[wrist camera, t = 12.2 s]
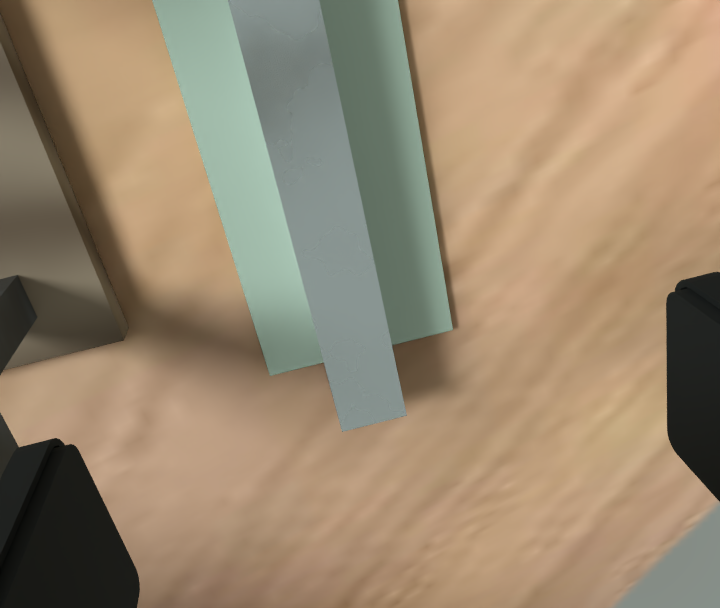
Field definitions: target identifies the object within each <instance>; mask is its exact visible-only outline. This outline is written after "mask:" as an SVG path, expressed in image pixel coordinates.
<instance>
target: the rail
mask: <svg viewBox="0 0 720 608" xmlns="http://www.w3.org/2000/svg"><path fill="white" fill-rule="evenodd" d="M228 3H229V7H230V10H231V14H232V18H233V22H234V25H235V29H236V33H237V37H238V41H239V44H240V48H241V52H242V56H243V59H244V63H245V67H246V71H247V75H248V78H249V82H250V86H251V90H252V93H253V97H254V101H255V105H256V108H257V112H258V116H259V120H260V124H261V127H262V131H263V135H264V139H265V142H266V146H267V150H268V154H269V158H270V161H271V165H272V169H273V173H274V176H275V180H276V184H277V188H278V192H279V195H280V199H281V203H282V207H283V210H284V214H285V218H286V222H287V225H288V229H289V233H290V237H291V241H292V244H293V248H294V252H295V256H296V259H297V263H298V267H299V271H300V275H301V278H302V282H303V286H304V290H305V293H306V297H307V301H308V305H309V308H310V312H311V316H312V320H313V324H314V327H315V331H316V335H317V339H318V342H319V346H320V350H321V354H322V358H323V361H324V365H325V369H326V373H327V376H328V380H329V384H330V388H331V392H332V395H333V399H334V403H335V407H336V410H337V414H338V418H339V422H340V425H341V429H342V432H343V431H347V430H351V429H355V428H359V427H363V426H367V425H371V424H375V423H379V422H383V421H387V420H391V419H395V418H399V417H403V416H407V415H406V410H405V405H404V400H403V396H402V391H401V386H400V381H399V377H398V372H397V367H396V362H395V358H394V353H393V348H392V343H391V339H390V334H389V329H388V324H387V320H386V315H385V310H384V305H383V301H382V296H381V291H380V286H379V282H378V277H377V272H376V267H375V263H374V258H373V253H372V248H371V244H370V239H369V234H368V229H367V225H366V220H365V215H364V210H363V206H362V201H361V196H360V191H359V187H358V182H357V177H356V172H355V168H354V163H353V158H352V153H351V149H350V144H349V139H348V134H347V130H346V125H345V120H344V115H343V111H342V106H341V101H340V96H339V92H338V87H337V82H336V77H335V73H334V68H333V63H332V58H331V54H330V49H329V44H328V39H327V35H326V30H325V25H324V20H323V16H322V11H321V6H320V1H319V0H228Z"/></svg>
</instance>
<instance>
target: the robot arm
mask: <svg viewBox="0 0 720 608" xmlns="http://www.w3.org/2000/svg"><path fill="white" fill-rule="evenodd" d="M666 318H667V431H668V437H669V440H670V443H671V445H672V447H673V449H674V451H675V452H676V453H677V455H678V456H679V457H680V458H681V459H682V460H683V461H684V462H685V464H686V465H687V466H688V467H689V468H690V469H691V470H692V471H693V472H694V474H695V475H696V476H697V477H698V478H699V479H700V480H701V481H702V483H703V484H704V485H705V486H706V487H707V488H708V489H709V490H710V491H711V493H712V494H713V495H714V496H715V497H716V498H717V499H718V500H719V501H720V273H719V272H713V273H709V274H705V275H701V276H697V277H693V278H689V279H685V280H681V281H680V282H679V283H678V284H677V286H676V288H675V292H671V293H670V294H669V295H668V297H667V303H666ZM139 591H140V587H139V577H138V573H137V570H136V568H135V566H134V564H133V562H132V559H131V557H130V555H129V553H128V551H127V549H126V547H125V545H124V543H123V541H122V539H121V537H120V535H119V533H118V531H117V529H116V526H115V524H114V522H113V520H112V518H111V516H110V514H109V512H108V510H107V508H106V506H105V504H104V502H103V500H102V498H101V496H100V493H99V491H98V489H97V487H96V485H95V483H94V481H93V479H92V477H91V475H90V473H89V471H88V469H87V467H86V465H85V463H84V460H83V458H82V456H81V454H80V452H79V451H78V449H77V447H76V446H74V445H72V444H69V445H64V443H63V442H62V441H61V440H60V439H57V438H54V439H50V440H46V441H42V442H38V443H34V444H31V445H27V446H23V447H19V448H17V449H16V450H15V451H14V453H13V454H12V456H11V458H10V460H9V462H8V464H7V466H6V468H5V470H4V472H3V474H2V476H1V478H0V608H137V604H138V598H139Z"/></svg>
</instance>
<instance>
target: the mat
mask: <svg viewBox="0 0 720 608" xmlns="http://www.w3.org/2000/svg"><path fill="white" fill-rule="evenodd" d="M152 1H153V4H154V7H155V10H156V14H157V17H158V20H159V23H160V26H161V30H162V33H163V36H164V39H165V42H166V46H167V49H168V52H169V55H170V58H171V61H172V65H173V68H174V71H175V74H176V77H177V81H178V84H179V87H180V90H181V93H182V97H183V100H184V103H185V106H186V109H187V112H188V116H189V119H190V122H191V125H192V128H193V132H194V135H195V138H196V141H197V144H198V148H199V151H200V154H201V157H202V160H203V163H204V167H205V170H206V173H207V176H208V179H209V183H210V186H211V189H212V192H213V195H214V199H215V202H216V205H217V208H218V211H219V215H220V218H221V221H222V224H223V227H224V230H225V234H226V237H227V240H228V243H229V246H230V250H231V253H232V256H233V259H234V262H235V266H236V269H237V272H238V275H239V278H240V281H241V285H242V288H243V291H244V294H245V297H246V301H247V304H248V307H249V310H250V313H251V317H252V320H253V323H254V326H255V329H256V333H257V336H258V339H259V342H260V345H261V348H262V352H263V355H264V358H265V361H266V364H267V368H268V371H269V374H270V376H272V375H276V374H279V373H283V372H287V371H291V370H295V369H299V368H303V367H307V366H311V365H315V364H319V363H323V362H324V361H323V358H322V354H321V350H320V346H319V342H318V339H317V335H316V331H315V327H314V324H313V320H312V316H311V312H310V308H309V305H308V301H307V297H306V293H305V290H304V286H303V282H302V278H301V275H300V271H299V267H298V263H297V259H296V256H295V252H294V248H293V244H292V241H291V237H290V233H289V229H288V225H287V222H286V218H285V214H284V210H283V207H282V203H281V199H280V195H279V192H278V188H277V184H276V180H275V176H274V173H273V169H272V165H271V161H270V158H269V154H268V150H267V146H266V142H265V139H264V135H263V131H262V127H261V124H260V120H259V116H258V112H257V108H256V105H255V101H254V97H253V93H252V90H251V86H250V82H249V78H248V75H247V71H246V67H245V63H244V59H243V56H242V52H241V48H240V44H239V41H238V37H237V33H236V29H235V25H234V22H233V18H232V14H231V10H230V7H229V3H228V0H152ZM319 1H320V6H321V11H322V16H323V20H324V25H325V30H326V35H327V39H328V44H329V49H330V54H331V58H332V63H333V68H334V73H335V77H336V82H337V87H338V92H339V96H340V101H341V106H342V111H343V115H344V120H345V125H346V130H347V134H348V139H349V144H350V149H351V153H352V158H353V163H354V168H355V172H356V177H357V182H358V187H359V191H360V196H361V201H362V206H363V210H364V215H365V220H366V225H367V229H368V234H369V239H370V244H371V248H372V253H373V258H374V263H375V267H376V272H377V277H378V282H379V286H380V291H381V296H382V301H383V305H384V310H385V315H386V320H387V324H388V329H389V334H390V339H391V343H392V345H395V344H399V343H403V342H407V341H411V340H415V339H419V338H423V337H427V336H431V335H435V334H439V333H443V332H447V331H451V330H453V327H452V321H451V315H450V309H449V303H448V297H447V291H446V285H445V279H444V273H443V267H442V261H441V255H440V249H439V243H438V237H437V231H436V225H435V219H434V214H433V208H432V202H431V196H430V190H429V184H428V178H427V172H426V166H425V160H424V154H423V148H422V142H421V136H420V130H419V124H418V118H417V112H416V106H415V100H414V94H413V88H412V82H411V76H410V70H409V64H408V58H407V52H406V46H405V40H404V34H403V28H402V22H401V16H400V10H399V4H398V0H319Z"/></svg>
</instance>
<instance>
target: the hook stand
mask: <svg viewBox="0 0 720 608" xmlns="http://www.w3.org/2000/svg"><path fill="white" fill-rule="evenodd" d="M127 331H128V325H127V323H126V320H125V318H124V316H123V313H122V311H121V308H120V306H119V303H118V301H117V298H116V296H115V293H114V291H113V289H112V286H111V284H110V281H109V279H108V276H107V274H106V271H105V269H104V266H103V264H102V262H101V259H100V257H99V254H98V252H97V249H96V247H95V244H94V242H93V239H92V237H91V235H90V232H89V230H88V227H87V225H86V222H85V220H84V217H83V215H82V212H81V210H80V208H79V205H78V203H77V200H76V198H75V195H74V193H73V190H72V188H71V185H70V183H69V181H68V178H67V176H66V173H65V171H64V168H63V166H62V163H61V161H60V159H59V156H58V154H57V151H56V149H55V146H54V144H53V141H52V139H51V136H50V134H49V132H48V129H47V127H46V124H45V122H44V119H43V117H42V114H41V112H40V109H39V107H38V105H37V102H36V100H35V97H34V95H33V92H32V90H31V87H30V85H29V82H28V80H27V78H26V75H25V73H24V70H23V68H22V65H21V63H20V60H19V58H18V55H17V53H16V51H15V48H14V46H13V43H12V41H11V38H10V36H9V33H8V31H7V28H6V26H5V24H4V21H3V19H2V16H1V14H0V375H1V373H2V371H3V370H6V369H10V368H14V367H18V366H22V365H26V364H30V363H34V362H38V361H42V360H46V359H50V358H54V357H58V356H62V355H66V354H70V353H74V352H78V351H82V350H86V349H90V348H95V347H99V346H103V345H107V344H111V343H115V342H119V341H123V340H124V339H125V336H126V333H127ZM17 448H19V447H18V445H17V443H16V441H15V439H14V437H13V435H12V434H11V432H10V430H9V428H8V426H7V424H6V422H5V421H4V419H3V417H2V415H1V413H0V478H1V476H2V474H3V472H4V470H5V468H6V466H7V464H8V462H9V460H10V458H11V456H12V454H13V453H14V451H15V450H16V449H17Z"/></svg>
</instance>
